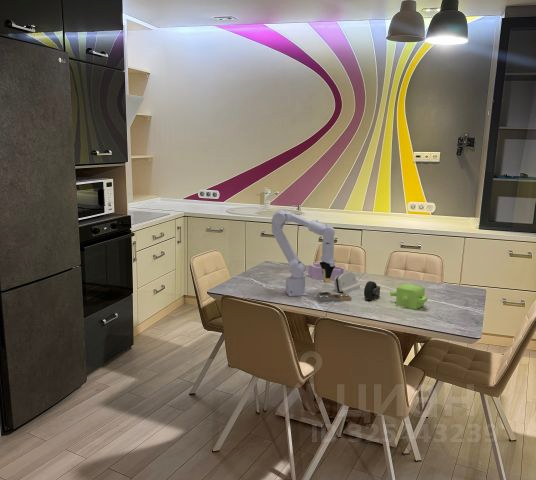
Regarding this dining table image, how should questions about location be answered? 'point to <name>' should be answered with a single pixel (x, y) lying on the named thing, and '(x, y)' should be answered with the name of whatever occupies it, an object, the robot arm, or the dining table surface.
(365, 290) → the caster wheel
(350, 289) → the off-white striped device
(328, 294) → the gray square frame
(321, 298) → the chain end left
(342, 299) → the chain end right
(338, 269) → the purple oblong basket
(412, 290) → the gearbox
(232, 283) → the dining table surface
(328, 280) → the pin
